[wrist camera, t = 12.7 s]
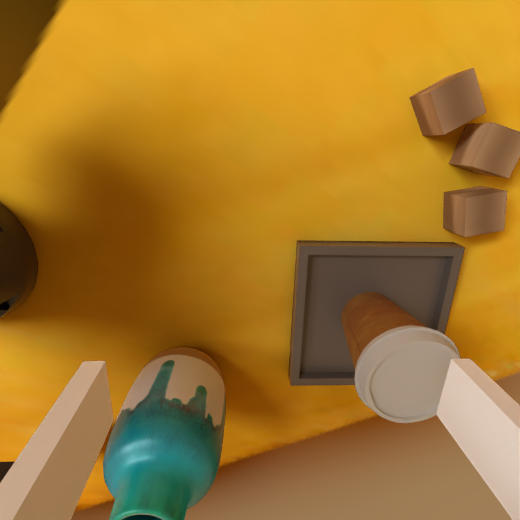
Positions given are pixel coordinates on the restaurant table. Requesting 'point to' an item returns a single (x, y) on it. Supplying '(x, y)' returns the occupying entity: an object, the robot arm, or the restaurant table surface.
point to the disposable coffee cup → (395, 358)
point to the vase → (167, 437)
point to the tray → (356, 282)
